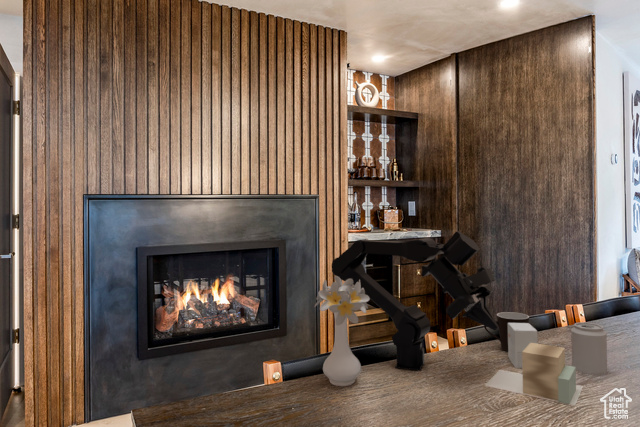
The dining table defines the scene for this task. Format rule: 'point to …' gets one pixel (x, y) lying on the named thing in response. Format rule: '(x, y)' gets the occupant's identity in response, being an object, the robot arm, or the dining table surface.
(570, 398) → the board
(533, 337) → the small box
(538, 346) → the oak block
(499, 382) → the laminate slab
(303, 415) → the dining table surface
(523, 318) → the coffee mug
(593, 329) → the can
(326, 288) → the flower vase
